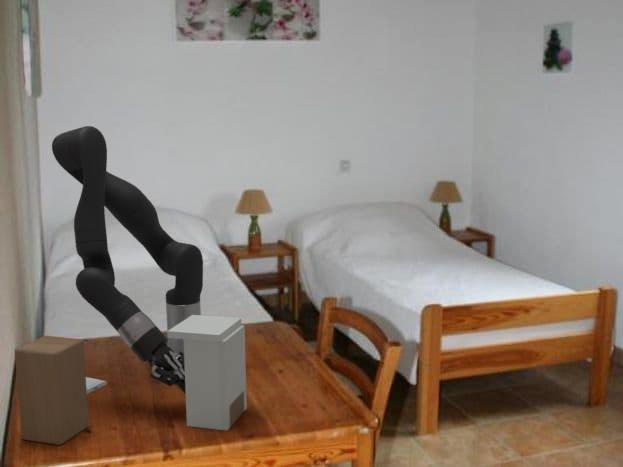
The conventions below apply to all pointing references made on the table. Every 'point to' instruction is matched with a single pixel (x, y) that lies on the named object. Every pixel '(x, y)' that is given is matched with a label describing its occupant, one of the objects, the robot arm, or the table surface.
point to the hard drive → (94, 384)
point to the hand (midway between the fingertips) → (192, 393)
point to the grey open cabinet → (213, 370)
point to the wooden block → (52, 389)
